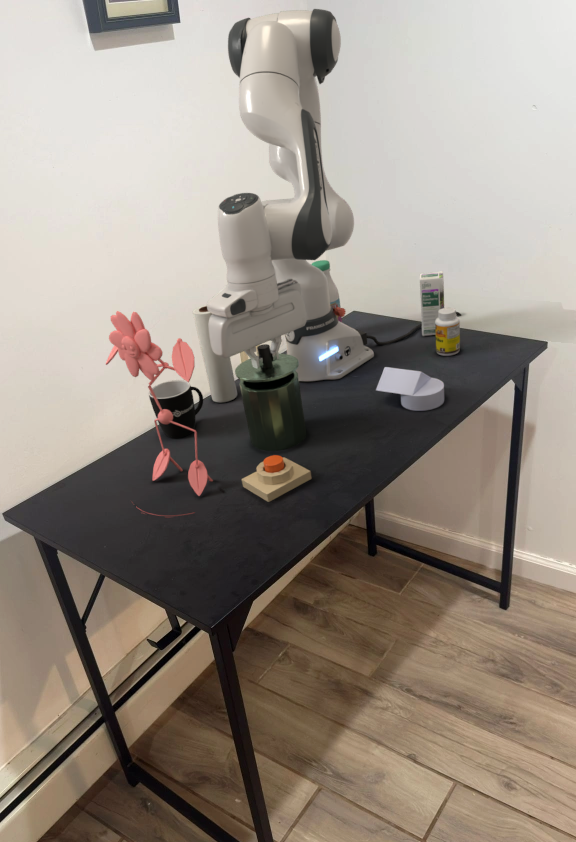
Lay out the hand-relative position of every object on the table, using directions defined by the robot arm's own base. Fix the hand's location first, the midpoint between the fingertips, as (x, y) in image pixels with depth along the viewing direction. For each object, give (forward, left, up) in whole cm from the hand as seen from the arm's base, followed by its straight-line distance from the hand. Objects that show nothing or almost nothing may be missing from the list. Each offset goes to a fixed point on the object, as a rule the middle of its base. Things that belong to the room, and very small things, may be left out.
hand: (265, 363), depth 138 cm
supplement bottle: (-52, -1, -17) cm, 55 cm away
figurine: (+26, 0, -17) cm, 31 cm away
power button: (+11, +14, -13) cm, 22 cm away
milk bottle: (-42, -33, -17) cm, 56 cm away
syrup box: (-60, -13, -17) cm, 64 cm away
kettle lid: (0, 0, -1) cm, 1 cm away
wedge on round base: (-29, +10, -17) cm, 35 cm away
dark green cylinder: (0, 0, -17) cm, 17 cm away
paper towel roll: (-5, -27, -17) cm, 32 cm away
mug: (+10, -21, -17) cm, 29 cm away
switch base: (+11, +14, -17) cm, 24 cm away
